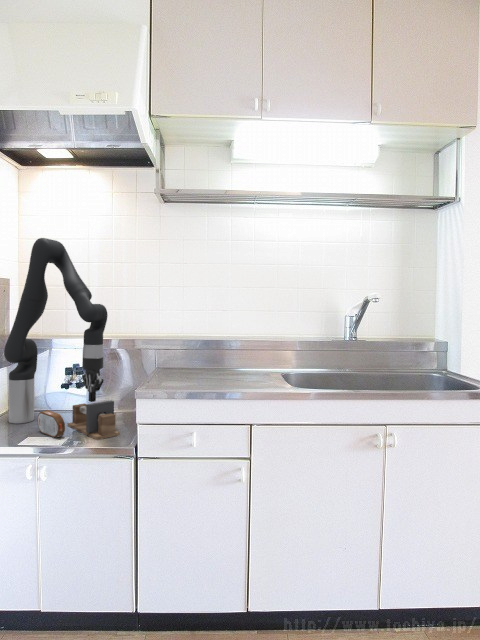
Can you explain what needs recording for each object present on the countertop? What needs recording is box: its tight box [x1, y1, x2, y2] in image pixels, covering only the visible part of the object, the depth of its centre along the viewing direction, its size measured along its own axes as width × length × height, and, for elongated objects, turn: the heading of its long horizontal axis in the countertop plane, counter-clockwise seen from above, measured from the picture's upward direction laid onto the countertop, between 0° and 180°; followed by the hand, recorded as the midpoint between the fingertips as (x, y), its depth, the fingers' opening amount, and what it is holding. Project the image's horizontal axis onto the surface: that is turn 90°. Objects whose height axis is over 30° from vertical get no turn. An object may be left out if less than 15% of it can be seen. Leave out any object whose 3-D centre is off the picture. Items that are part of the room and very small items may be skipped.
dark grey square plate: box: [85, 400, 115, 433], centre depth 156 cm, size 2×10×10 cm, turn 136°
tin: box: [37, 409, 66, 439], centre depth 153 cm, size 15×3×8 cm, turn 53°
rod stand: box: [67, 403, 121, 441], centre depth 160 cm, size 24×9×8 cm, turn 46°
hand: (92, 401), depth 160 cm, fingers closed
